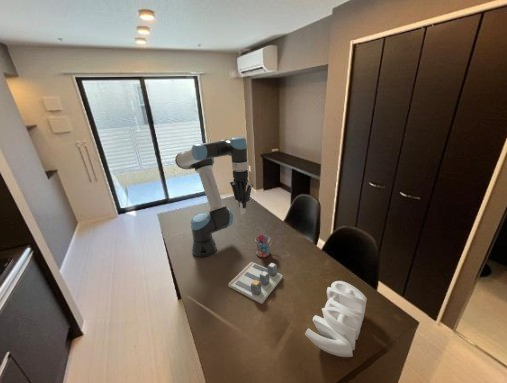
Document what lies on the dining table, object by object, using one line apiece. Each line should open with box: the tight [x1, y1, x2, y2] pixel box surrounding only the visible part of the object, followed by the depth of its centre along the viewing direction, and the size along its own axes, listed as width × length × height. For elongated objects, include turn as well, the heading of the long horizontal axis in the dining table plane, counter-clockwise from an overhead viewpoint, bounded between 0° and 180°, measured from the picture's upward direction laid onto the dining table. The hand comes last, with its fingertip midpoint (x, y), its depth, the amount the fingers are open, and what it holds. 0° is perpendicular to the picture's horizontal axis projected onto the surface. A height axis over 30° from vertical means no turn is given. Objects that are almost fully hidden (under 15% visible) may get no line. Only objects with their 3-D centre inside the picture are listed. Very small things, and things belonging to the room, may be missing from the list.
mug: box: [254, 234, 274, 258], centre depth 137 cm, size 12×9×11 cm
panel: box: [228, 261, 283, 304], centre depth 115 cm, size 20×20×7 cm
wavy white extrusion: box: [304, 280, 368, 358], centre depth 90 cm, size 35×16×10 cm, turn 141°
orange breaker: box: [251, 280, 262, 295], centre depth 107 cm, size 4×4×6 cm
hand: (243, 213), depth 119 cm, fingers closed
